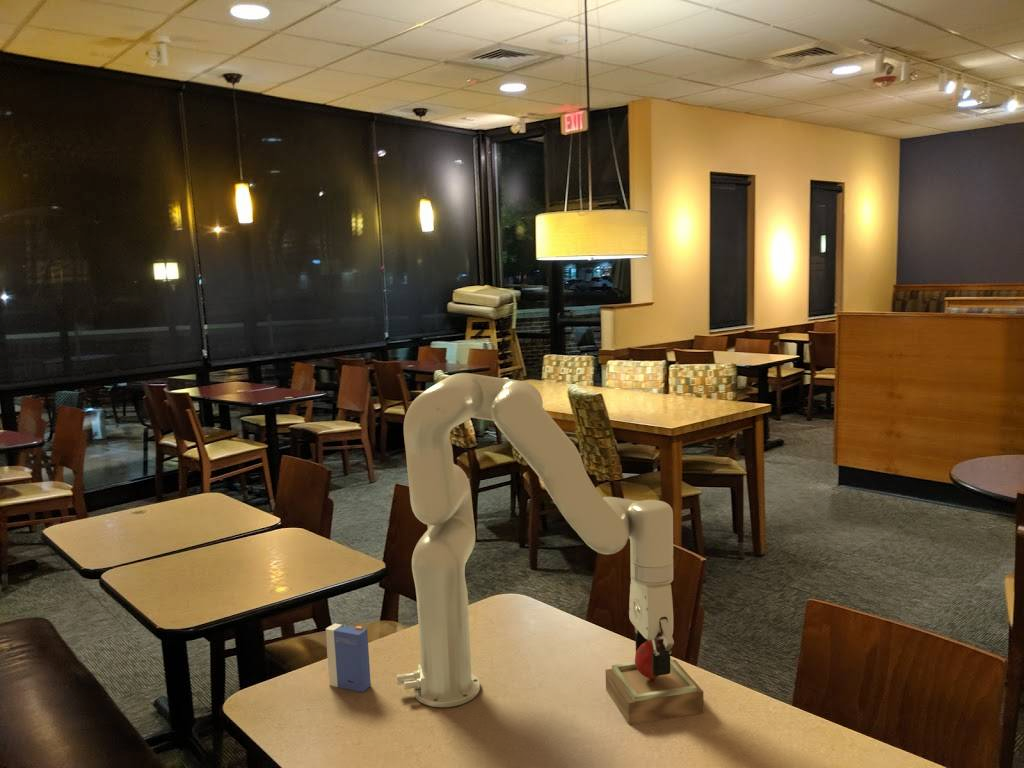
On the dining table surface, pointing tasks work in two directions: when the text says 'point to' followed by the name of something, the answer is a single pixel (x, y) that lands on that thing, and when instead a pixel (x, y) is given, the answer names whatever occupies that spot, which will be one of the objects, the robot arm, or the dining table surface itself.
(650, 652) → the onion
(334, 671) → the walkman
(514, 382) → the robot arm
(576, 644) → the dining table surface
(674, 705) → the plinth
